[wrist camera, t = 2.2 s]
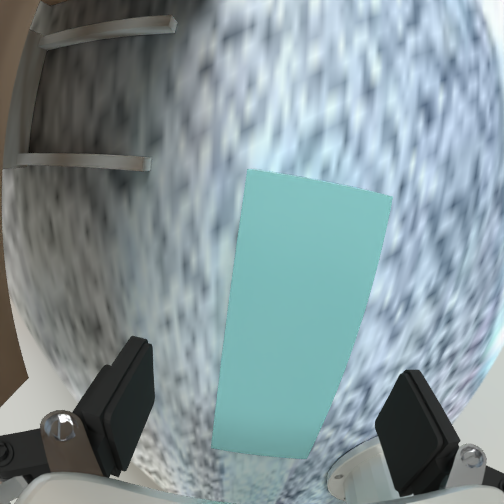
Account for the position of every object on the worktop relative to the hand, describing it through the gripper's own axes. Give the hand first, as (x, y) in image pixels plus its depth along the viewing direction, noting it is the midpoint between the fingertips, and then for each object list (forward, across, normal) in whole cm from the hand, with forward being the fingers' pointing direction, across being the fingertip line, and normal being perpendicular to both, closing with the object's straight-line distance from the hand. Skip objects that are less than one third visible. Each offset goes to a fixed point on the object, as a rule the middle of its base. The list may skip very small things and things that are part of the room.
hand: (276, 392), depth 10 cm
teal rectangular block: (+8, -1, +1) cm, 9 cm away
